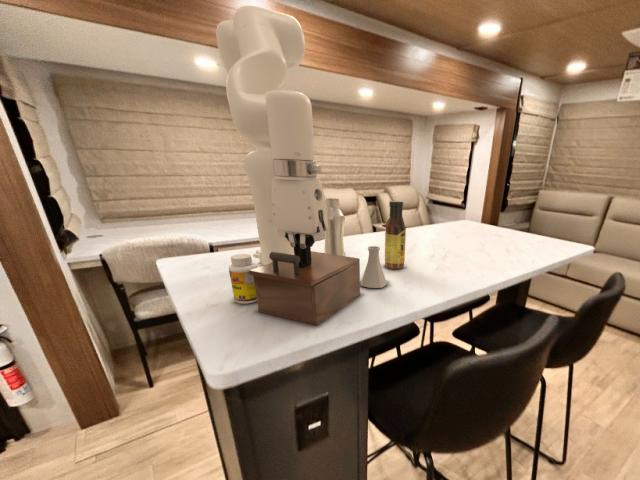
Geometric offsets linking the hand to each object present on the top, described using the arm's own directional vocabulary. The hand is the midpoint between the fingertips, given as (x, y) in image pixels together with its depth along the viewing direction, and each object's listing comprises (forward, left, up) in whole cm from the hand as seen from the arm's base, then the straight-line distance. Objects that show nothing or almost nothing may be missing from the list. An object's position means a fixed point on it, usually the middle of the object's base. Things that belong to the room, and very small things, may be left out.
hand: (303, 265), depth 64 cm
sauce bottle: (+6, +36, -10) cm, 38 cm away
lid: (0, +2, -1) cm, 2 cm away
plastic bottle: (-10, +27, -10) cm, 30 cm away
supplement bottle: (-14, -3, -10) cm, 17 cm away
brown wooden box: (0, +2, -9) cm, 10 cm away
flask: (+7, +19, -10) cm, 23 cm away
